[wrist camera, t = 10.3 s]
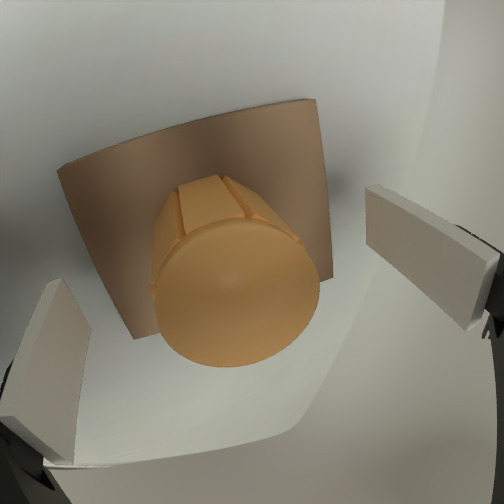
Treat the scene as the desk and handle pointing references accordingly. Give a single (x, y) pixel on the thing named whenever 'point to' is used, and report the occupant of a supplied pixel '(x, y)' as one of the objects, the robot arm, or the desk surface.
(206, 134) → the board
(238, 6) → the desk surface
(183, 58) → the desk surface
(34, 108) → the desk surface
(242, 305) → the fluted orange cylinder
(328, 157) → the desk surface
